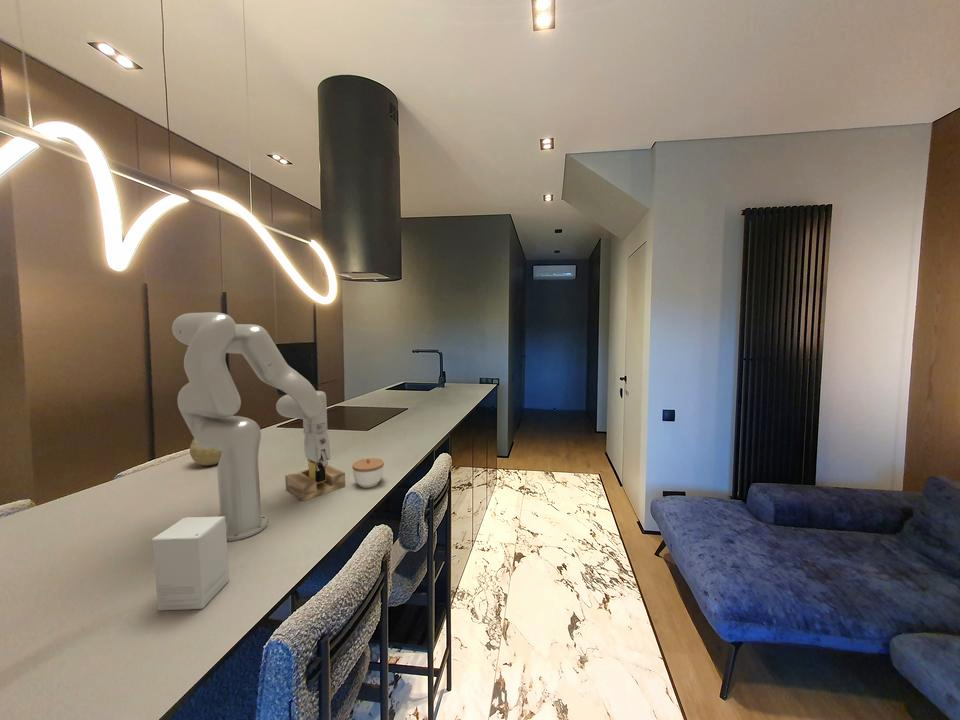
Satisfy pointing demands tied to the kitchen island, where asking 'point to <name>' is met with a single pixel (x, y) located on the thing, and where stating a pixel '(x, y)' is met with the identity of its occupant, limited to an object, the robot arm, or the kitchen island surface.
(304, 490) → the notched board
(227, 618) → the kitchen island surface
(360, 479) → the lidded jar
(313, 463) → the yellow upright block
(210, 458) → the fossilized egg
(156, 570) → the supplement box
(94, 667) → the kitchen island surface
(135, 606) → the kitchen island surface
